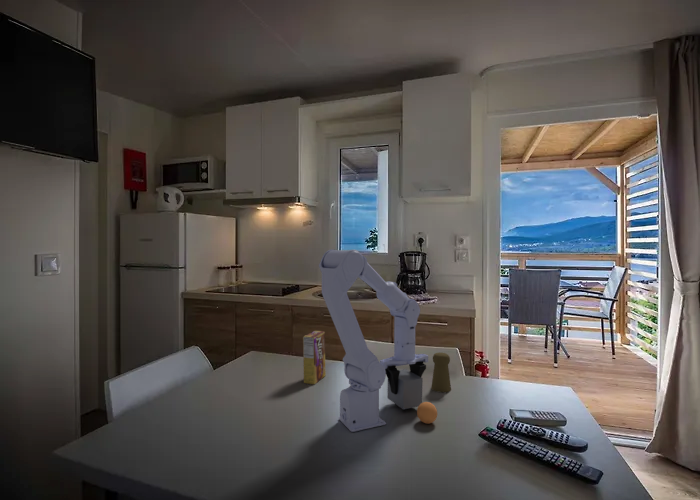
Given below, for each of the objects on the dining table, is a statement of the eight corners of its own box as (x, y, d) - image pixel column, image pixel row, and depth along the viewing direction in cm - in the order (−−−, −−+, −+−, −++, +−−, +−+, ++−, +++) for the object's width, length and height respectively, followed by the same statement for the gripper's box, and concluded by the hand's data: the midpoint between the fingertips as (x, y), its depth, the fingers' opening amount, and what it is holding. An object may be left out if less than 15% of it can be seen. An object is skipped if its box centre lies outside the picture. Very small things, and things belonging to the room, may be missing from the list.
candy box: (314, 374, 131) (314, 330, 131) (325, 376, 129) (326, 331, 129) (302, 383, 122) (302, 335, 122) (314, 384, 121) (314, 337, 121)
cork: (428, 390, 117) (429, 354, 117) (434, 383, 122) (434, 349, 122) (448, 393, 114) (448, 357, 114) (453, 387, 120) (453, 352, 119)
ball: (424, 428, 92) (425, 408, 92) (412, 420, 96) (413, 400, 96) (441, 424, 94) (441, 404, 94) (429, 416, 99) (429, 397, 98)
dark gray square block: (403, 409, 99) (403, 381, 99) (387, 398, 107) (387, 371, 107) (422, 405, 102) (422, 378, 102) (405, 394, 109) (405, 369, 109)
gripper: (389, 348, 98) (389, 400, 98) (435, 342, 104) (434, 391, 104) (376, 341, 104) (375, 391, 104) (419, 336, 110) (419, 383, 110)
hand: (404, 391), depth 104 cm, fingers closed on dark gray square block, 6 cm apart
